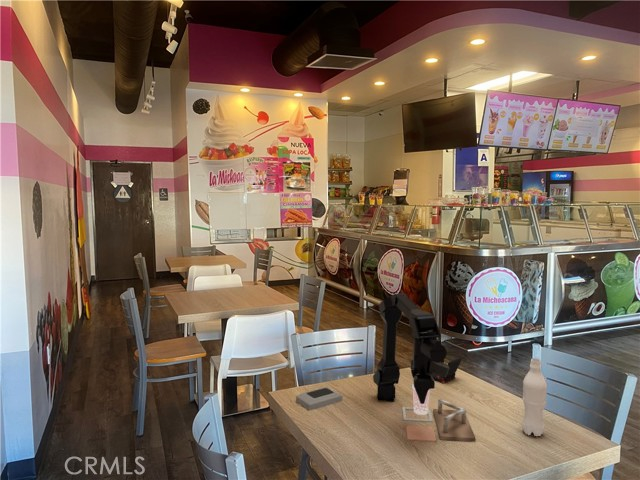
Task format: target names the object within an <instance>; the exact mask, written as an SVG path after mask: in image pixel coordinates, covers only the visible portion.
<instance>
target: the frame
mask: <svg viewBox="0 0 640 480" xmlns="http://www.w3.org/2000/svg"><path fill="white" fill-rule="evenodd" d="M401 409H402V417H403V421H405V422H420V423H421V422H423V423H424V422H425V423H434V419H433V416H432V411H431V408H430V407H428V413H427V415H428V419H427V418H410V417H409V418H407V412H406V411H407V410H408V411H409V410H410V411H411V410H412V411H414V407H412V406H411V407H406V406H402V407H401Z"/></svg>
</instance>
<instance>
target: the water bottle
mask: <svg viewBox="0 0 640 480" xmlns="http://www.w3.org/2000/svg"><path fill="white" fill-rule="evenodd" d="M541 363H542V360H541V359H540V358H533V357H532V358H531V359H530V364H529V368H530V369H529V371H528V372H527V374H526V375H525V377H524V379H523V381H522V385H523V386H522V388H523V389H522V401H523V405H524V416H523V418H522V420H521V428H522V431H523V432H524V433H525V435H527V434H528V435H527V436H529V435H530V436H531V434H532V433H533V436H534V437H535V436H540V437H541V436H542V435H543V434H544V433H545V431H546V425H545V421H544V416H543V414H544V409H545V407H546V406H547V387H548V385H547V380H546V378H545V377H544V374H543V373H542V365H541ZM541 434H542V435H541Z"/></svg>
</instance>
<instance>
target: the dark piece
mask: <svg viewBox="0 0 640 480" xmlns="http://www.w3.org/2000/svg"><path fill="white" fill-rule="evenodd" d="M461 363H462V358H461V357H458V358H455V359H454V360H451V361H448V363H447V364H448V366H449V371H448V373H447V376H446V377H443V376H442V375H439V374H437V373H434V372H433V374H429V375H431V376H432V377H433V378H434V382H438V383H441V384H446V383H448V382H450V381H452V380H454V379H455V378H456V373H457V370H458V369H459V367H460V365H461Z"/></svg>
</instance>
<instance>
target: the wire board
mask: <svg viewBox="0 0 640 480" xmlns="http://www.w3.org/2000/svg"><path fill="white" fill-rule="evenodd" d="M443 406H446V407H448V408H451V409H443ZM432 413H433V417H434V420H435V424H436V428H437V429H436V430H437V432H438V433H437V434H438V436H439V439H440V440H441V441H453V442H454V441H455V442H456V441H457V442H470V441H471V442H472V441H475V442H476V440H477V439H476V436H475V433H474V431H473V429H472V426H471V423H470V421H469V419H468V416H467V409H466V408H464V407H462V406H458V405H457V404H455V403H452V402H449V401H446V400H443V399H441V398H439V399H438V400H437V408H433V409H432ZM475 442H474V443H475Z"/></svg>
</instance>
